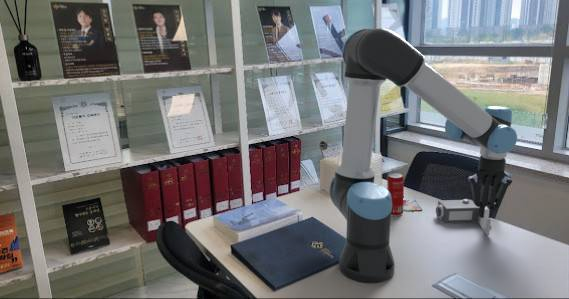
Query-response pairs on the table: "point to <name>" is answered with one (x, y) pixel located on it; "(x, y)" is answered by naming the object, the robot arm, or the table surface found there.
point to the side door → (487, 226)
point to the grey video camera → (457, 211)
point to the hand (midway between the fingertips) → (483, 226)
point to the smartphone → (411, 206)
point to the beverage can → (396, 192)
